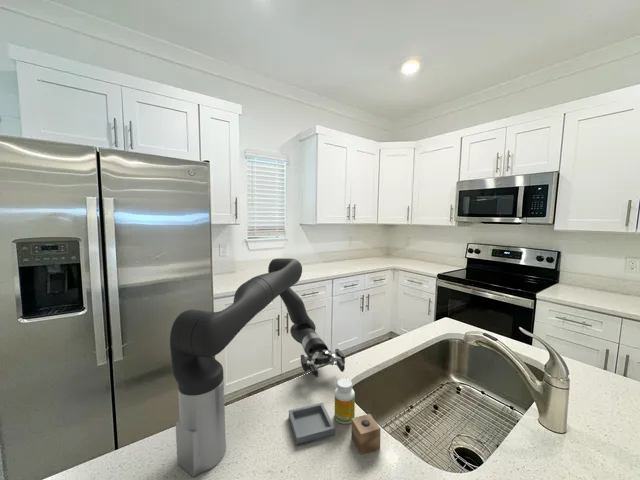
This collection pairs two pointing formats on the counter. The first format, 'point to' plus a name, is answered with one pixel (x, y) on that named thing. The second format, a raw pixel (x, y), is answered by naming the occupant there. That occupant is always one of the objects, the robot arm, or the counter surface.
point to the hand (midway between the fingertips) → (330, 371)
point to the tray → (311, 424)
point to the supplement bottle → (344, 401)
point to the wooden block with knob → (365, 433)
